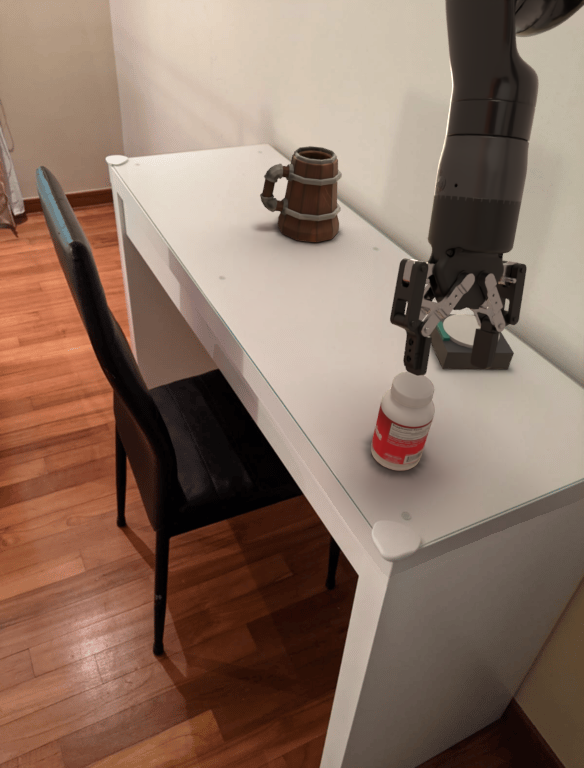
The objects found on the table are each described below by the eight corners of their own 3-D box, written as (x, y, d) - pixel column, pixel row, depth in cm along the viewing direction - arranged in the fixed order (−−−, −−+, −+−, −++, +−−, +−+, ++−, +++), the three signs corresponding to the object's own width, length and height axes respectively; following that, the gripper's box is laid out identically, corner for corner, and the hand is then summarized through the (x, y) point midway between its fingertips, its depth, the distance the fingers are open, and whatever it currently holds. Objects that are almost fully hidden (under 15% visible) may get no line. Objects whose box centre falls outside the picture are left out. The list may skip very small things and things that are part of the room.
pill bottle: (376, 430, 77) (392, 361, 70) (423, 444, 76) (445, 375, 69) (364, 463, 73) (380, 393, 66) (415, 479, 72) (437, 409, 65)
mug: (326, 215, 127) (336, 142, 117) (344, 242, 118) (356, 165, 108) (252, 217, 123) (256, 141, 114) (265, 245, 114) (269, 165, 105)
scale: (485, 330, 98) (491, 311, 95) (507, 369, 90) (515, 349, 88) (425, 329, 97) (430, 310, 94) (442, 368, 89) (448, 348, 87)
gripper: (448, 190, 47) (418, 388, 52) (565, 202, 54) (530, 375, 59) (387, 187, 53) (366, 364, 58) (500, 197, 61) (473, 355, 65)
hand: (449, 370), depth 59 cm, fingers open, 8 cm apart
